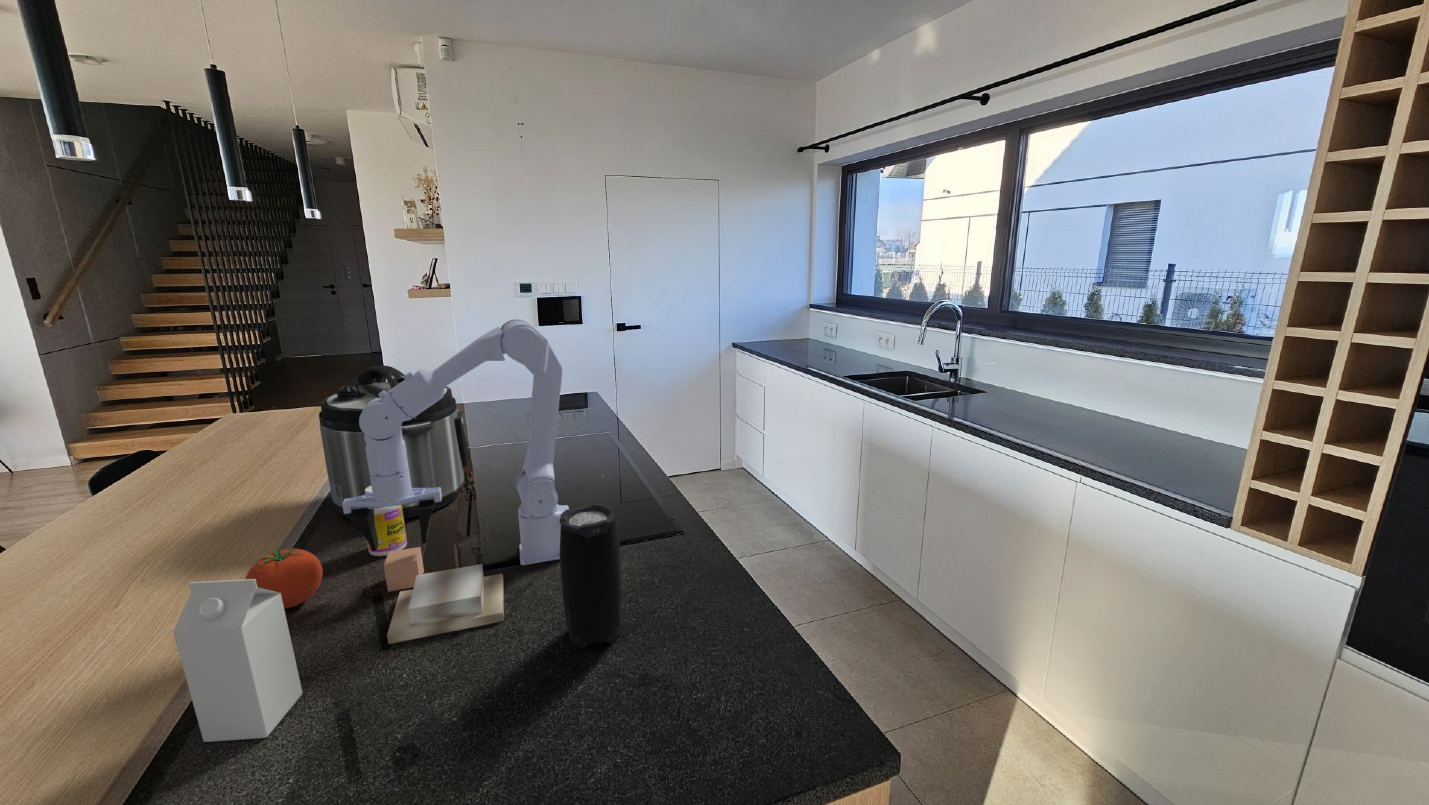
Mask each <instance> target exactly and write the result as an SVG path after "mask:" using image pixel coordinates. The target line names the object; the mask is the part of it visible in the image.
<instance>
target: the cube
mask: <svg viewBox="0 0 1429 805" xmlns="http://www.w3.org/2000/svg"><path fill="white" fill-rule="evenodd" d="M383 570H384V574H385V581H386V586H387V587H386V588H387V592H388V593H389V592H394V591H399V590H401V591H402V590H405V589H411V588H414V584H415V580H416V577H417V575H421V574H423V573H424V574H425V567H424V562H423V555H422V548H421V546H418V547H417V546H416V547H411V548H410V547H409V548H404V549H402V550H397V551H391V552H389V553H388V555H387V556H386V559H385V561H384V564H383Z"/></svg>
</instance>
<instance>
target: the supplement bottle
mask: <svg viewBox="0 0 1429 805" xmlns="http://www.w3.org/2000/svg"><path fill="white" fill-rule="evenodd" d="M372 493H373V492H372V486H369V487H367V488H366V489H365V495H367V494H372ZM374 520H375V528H376V532H377V537H378V544H379V545H378V548H377V550H376V551H372V550H371V548H370V545H369V543H368V541H367V540H366V546H367V550H368V553H369V554H370V555H371V556H374V557H375V556H376V557H387V556H388V553H389V552H391V551H397V550H404V549H406V546H407V544H408V540H407V532H406V526H405V518H404V517H403V510H402V505H398V506H391V507H383V508H375V509H374Z"/></svg>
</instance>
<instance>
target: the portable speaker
mask: <svg viewBox="0 0 1429 805" xmlns="http://www.w3.org/2000/svg"><path fill="white" fill-rule="evenodd" d="M615 514H616V513H615V509H614V508H613V507H612V506H611V505H608V504H606V503H597V502H596V503H594V504H591V505H585V506H581V507H576V508H569V509H567V510H565V511H564V512H563V513H562V514H561V516H560V523H561V529H560V559H559V567H560V576H561V590H562V602H563V606H564V607H563V608H564V615H565V620H566V628H567V631H568V636H569V642H570V643H571V644H573V646H574V647H576V648H579V649H583V650H585V648H586V647H587V646H590V645H595V644H599V643H600V644H601V643H607V644H614V643H615V642H616V641H617V639H618V638H620V636H621V633H622V621H623V579H622V578H623V577H622V563H621V562H622V561H621V548H620V547H621V544H620V538H619V531H618V526H617V524H618V523H617V519H616V518H617V517H616V515H615ZM614 641H615V642H614Z"/></svg>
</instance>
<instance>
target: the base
mask: <svg viewBox="0 0 1429 805" xmlns="http://www.w3.org/2000/svg"><path fill="white" fill-rule="evenodd" d="M412 588H413V589H407V590H401V591H399V594H398V597H397V600H396V604H395V607H394V610H393V614H392V617H391V621H390V624H389V627H388V631H387V634H386V638H387V643H388V645H390V644H396V643H401V642H407V641H413V640H416V639H420V638H421V639H422V638H426V637H431V636H436V635H441V634H445V633H450V632H451V633H452V632H457V631H461V630H466V629H470V628H471V629H472V628H476V627H481V626H486V625H491V624H495V623H496V624H497V623H501V622H504V620H505V611H504V610H505V605H504V604H505V600H504V595H505V594H504V573H499V574H492V575H487V576H484V568H483V563H481V564H475V565H469V566H464V567H459V568H458V567H457V568H452V569H451V568H450V569H445V570H438V571H434V572H426V573H424V574H421V575H417V577H416V580H415V584H414V587H412Z"/></svg>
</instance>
